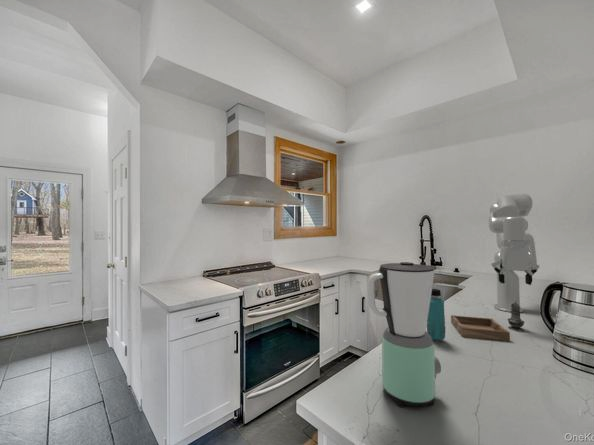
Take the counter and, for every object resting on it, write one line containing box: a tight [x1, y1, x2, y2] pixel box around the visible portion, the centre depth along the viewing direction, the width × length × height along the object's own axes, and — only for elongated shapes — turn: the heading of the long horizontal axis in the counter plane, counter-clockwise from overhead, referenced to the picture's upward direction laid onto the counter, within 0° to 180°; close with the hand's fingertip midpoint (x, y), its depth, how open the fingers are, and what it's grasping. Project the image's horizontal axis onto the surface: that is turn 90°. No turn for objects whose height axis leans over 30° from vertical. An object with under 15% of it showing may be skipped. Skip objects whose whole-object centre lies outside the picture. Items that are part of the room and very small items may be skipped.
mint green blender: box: [367, 261, 442, 408], centre depth 70 cm, size 19×13×35 cm
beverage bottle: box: [426, 288, 446, 341], centre depth 104 cm, size 6×7×20 cm
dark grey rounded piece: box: [506, 301, 525, 332], centre depth 115 cm, size 6×6×12 cm
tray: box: [450, 315, 511, 342], centre depth 113 cm, size 16×16×4 cm
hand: (515, 283), depth 115 cm, fingers open, 9 cm apart
